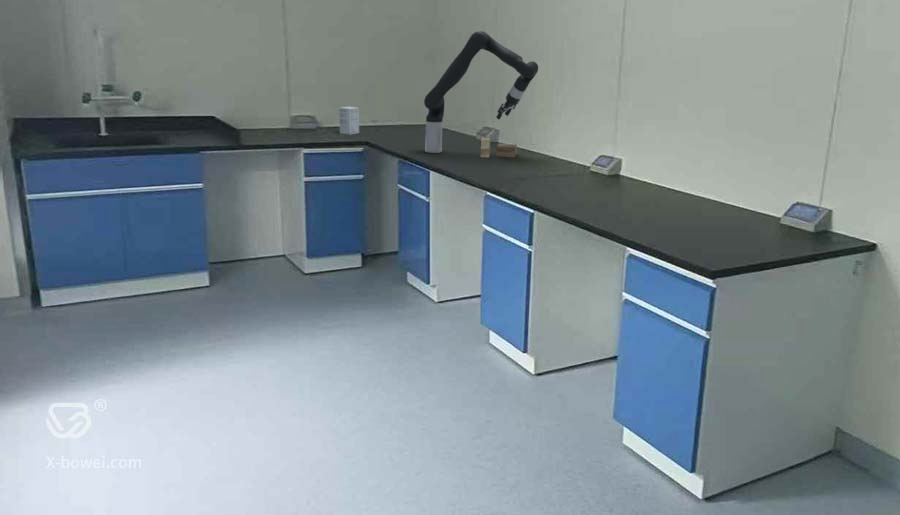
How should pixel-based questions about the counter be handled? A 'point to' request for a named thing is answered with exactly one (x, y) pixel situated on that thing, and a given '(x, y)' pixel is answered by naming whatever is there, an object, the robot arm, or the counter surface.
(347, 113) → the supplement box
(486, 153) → the oak block
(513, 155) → the walnut base
